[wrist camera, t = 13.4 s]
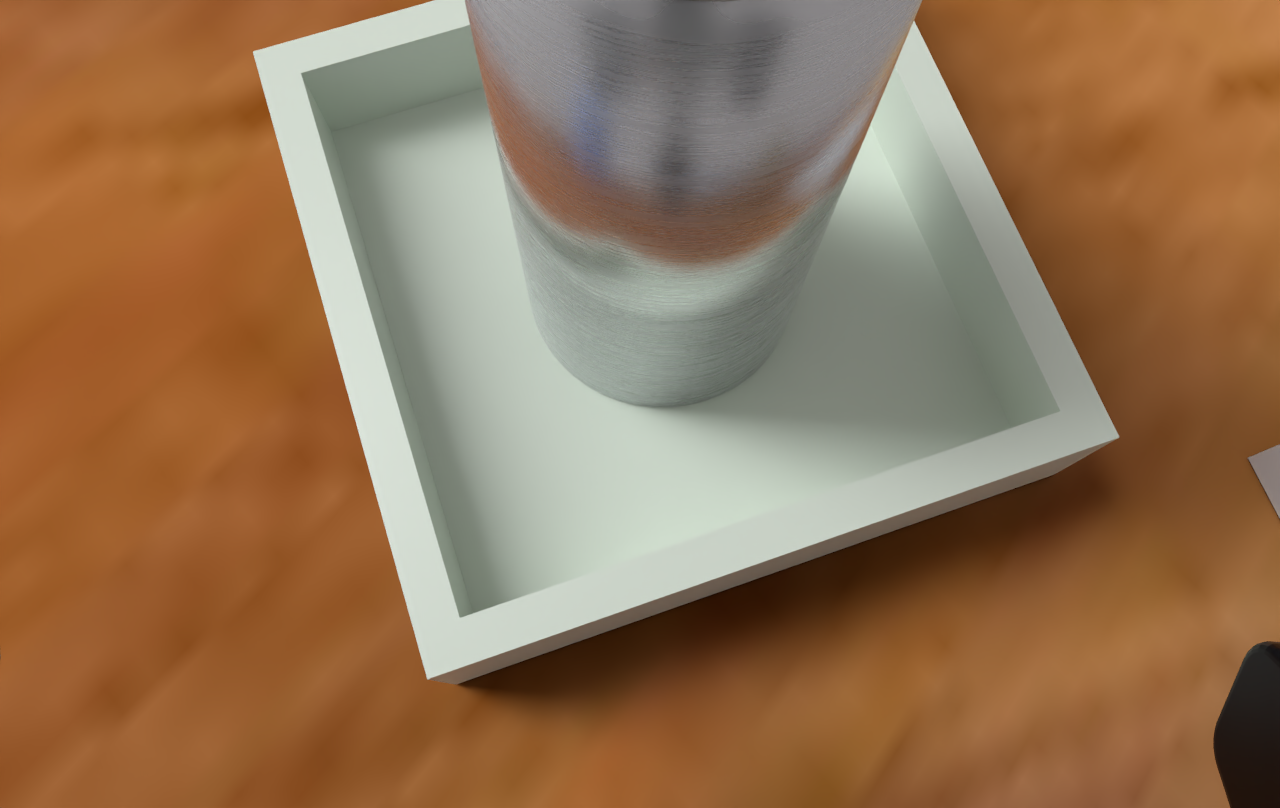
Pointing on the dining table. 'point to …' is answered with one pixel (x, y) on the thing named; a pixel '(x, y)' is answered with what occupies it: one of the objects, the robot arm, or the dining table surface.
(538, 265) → the brushed metal cylinder
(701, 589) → the sage bin
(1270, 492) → the grey bin
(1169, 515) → the dining table surface
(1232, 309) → the dining table surface
